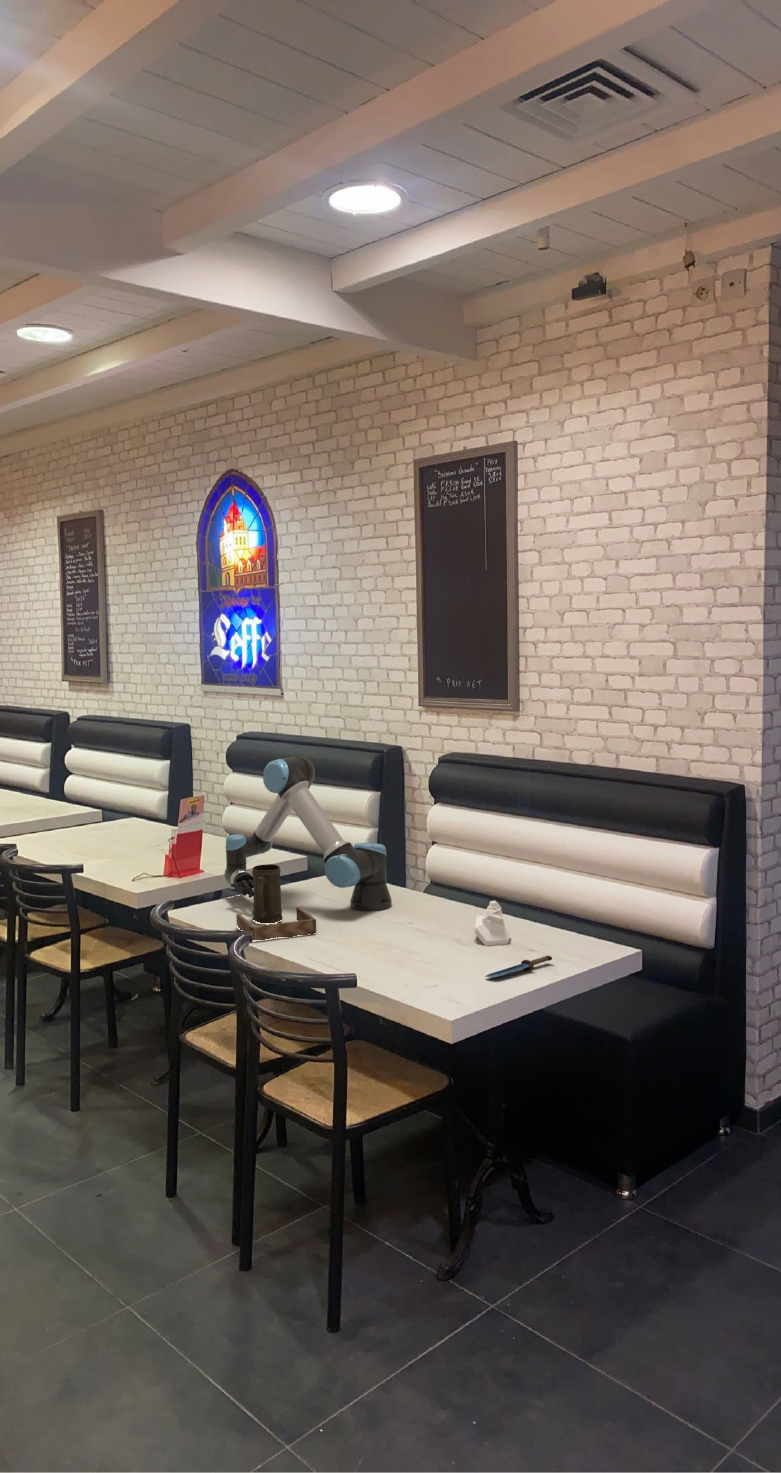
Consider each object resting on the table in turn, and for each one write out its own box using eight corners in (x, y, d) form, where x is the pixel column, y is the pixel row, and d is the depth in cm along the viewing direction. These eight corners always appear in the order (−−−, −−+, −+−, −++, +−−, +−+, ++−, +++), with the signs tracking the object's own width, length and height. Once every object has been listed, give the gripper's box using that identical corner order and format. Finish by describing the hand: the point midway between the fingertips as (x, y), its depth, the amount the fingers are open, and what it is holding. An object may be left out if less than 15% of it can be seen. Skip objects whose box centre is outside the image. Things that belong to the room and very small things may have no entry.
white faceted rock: (510, 938, 341) (520, 899, 337) (504, 955, 326) (515, 915, 323) (474, 927, 343) (484, 888, 340) (466, 943, 329) (477, 903, 326)
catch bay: (299, 920, 360) (299, 906, 360) (316, 934, 343) (316, 919, 343) (236, 928, 352) (236, 914, 351) (250, 942, 335) (250, 927, 334)
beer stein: (254, 916, 366) (252, 863, 363) (283, 915, 367) (282, 862, 363) (249, 931, 351) (247, 875, 348) (280, 930, 352) (278, 875, 349)
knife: (494, 972, 292) (482, 970, 296) (495, 983, 292) (484, 981, 296) (555, 953, 306) (544, 951, 310) (557, 963, 306) (545, 961, 310)
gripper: (260, 889, 389) (277, 904, 367) (225, 893, 384) (241, 908, 362) (259, 869, 388) (276, 883, 366) (225, 873, 383) (240, 887, 361)
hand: (258, 895), depth 364 cm, fingers closed
